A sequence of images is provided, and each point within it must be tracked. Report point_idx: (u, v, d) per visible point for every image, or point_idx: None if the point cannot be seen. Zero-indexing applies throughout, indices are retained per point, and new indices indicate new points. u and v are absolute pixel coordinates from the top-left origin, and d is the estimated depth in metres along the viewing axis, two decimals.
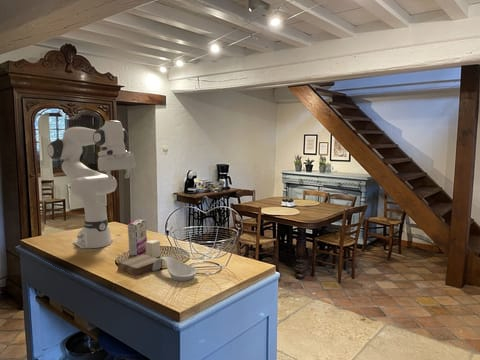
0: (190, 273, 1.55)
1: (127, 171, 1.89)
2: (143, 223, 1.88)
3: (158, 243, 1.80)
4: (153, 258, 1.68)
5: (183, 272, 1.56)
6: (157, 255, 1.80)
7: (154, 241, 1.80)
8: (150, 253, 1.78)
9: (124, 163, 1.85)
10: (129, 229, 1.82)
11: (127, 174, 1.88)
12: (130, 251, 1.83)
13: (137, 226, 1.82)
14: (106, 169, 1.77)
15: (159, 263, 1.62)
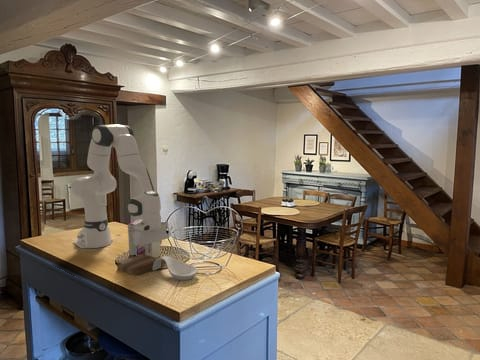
0: (190, 272, 1.56)
1: None
2: None
3: (158, 243, 1.80)
4: (152, 258, 1.68)
5: (183, 271, 1.57)
6: (157, 255, 1.80)
7: None
8: (150, 253, 1.78)
9: (159, 235, 1.81)
10: (129, 229, 1.82)
11: None
12: (130, 251, 1.83)
13: None
14: (142, 244, 1.73)
15: (159, 263, 1.63)
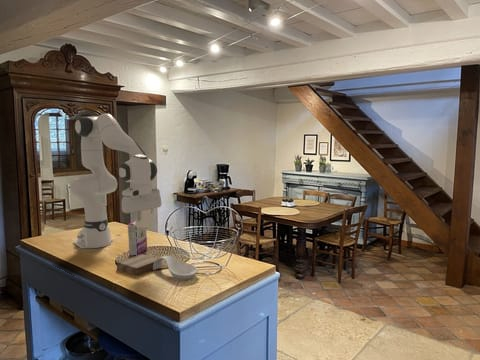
0: (191, 272, 1.56)
1: None
2: None
3: (149, 211, 1.66)
4: (152, 258, 1.68)
5: (184, 271, 1.57)
6: (148, 224, 1.66)
7: None
8: (140, 222, 1.64)
9: (149, 202, 1.67)
10: (129, 229, 1.82)
11: None
12: (130, 251, 1.83)
13: None
14: (131, 211, 1.59)
15: (159, 262, 1.63)
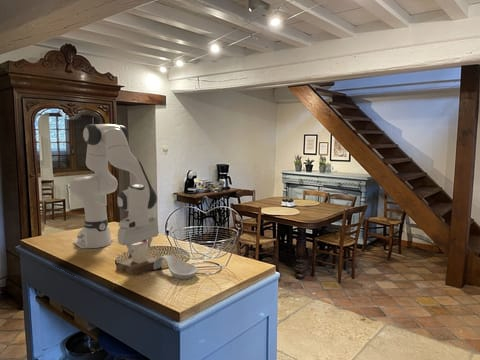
0: (191, 271, 1.57)
1: None
2: None
3: (145, 246, 1.64)
4: (151, 258, 1.69)
5: (184, 270, 1.58)
6: (144, 259, 1.64)
7: (141, 244, 1.64)
8: (136, 257, 1.62)
9: (146, 233, 1.65)
10: None
11: (148, 243, 1.68)
12: None
13: None
14: (127, 243, 1.57)
15: (160, 262, 1.64)
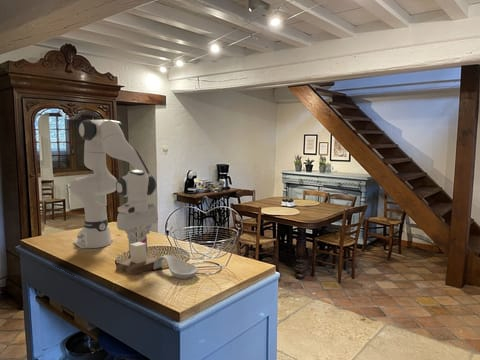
0: (191, 271, 1.57)
1: (148, 226, 1.68)
2: None
3: (144, 246, 1.64)
4: (151, 258, 1.69)
5: (184, 270, 1.58)
6: (143, 259, 1.64)
7: (139, 244, 1.64)
8: (135, 257, 1.62)
9: (146, 219, 1.64)
10: None
11: (148, 230, 1.67)
12: None
13: None
14: (126, 228, 1.56)
15: (160, 261, 1.64)
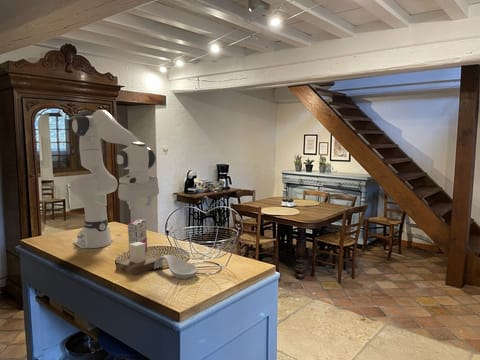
0: (191, 271, 1.57)
1: None
2: (143, 223, 1.88)
3: (143, 246, 1.64)
4: (151, 258, 1.69)
5: (184, 270, 1.58)
6: (142, 259, 1.64)
7: (139, 243, 1.64)
8: (134, 257, 1.62)
9: (147, 190, 1.66)
10: (129, 229, 1.82)
11: (149, 202, 1.69)
12: None
13: (137, 226, 1.82)
14: (127, 199, 1.58)
15: (160, 261, 1.65)
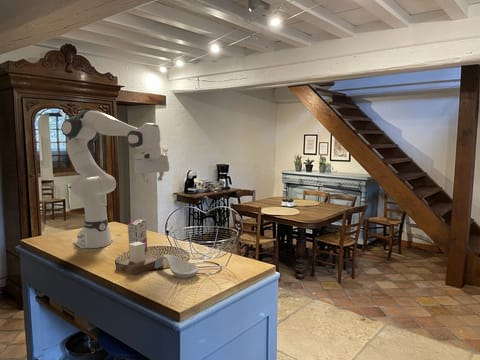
0: (191, 271, 1.58)
1: (160, 174, 1.91)
2: (143, 223, 1.88)
3: (143, 245, 1.64)
4: (151, 258, 1.69)
5: (185, 270, 1.59)
6: (142, 259, 1.64)
7: (138, 243, 1.64)
8: (134, 257, 1.62)
9: (159, 166, 1.87)
10: (129, 229, 1.82)
11: (160, 177, 1.90)
12: None
13: (137, 226, 1.82)
14: (142, 172, 1.79)
15: (161, 261, 1.65)
